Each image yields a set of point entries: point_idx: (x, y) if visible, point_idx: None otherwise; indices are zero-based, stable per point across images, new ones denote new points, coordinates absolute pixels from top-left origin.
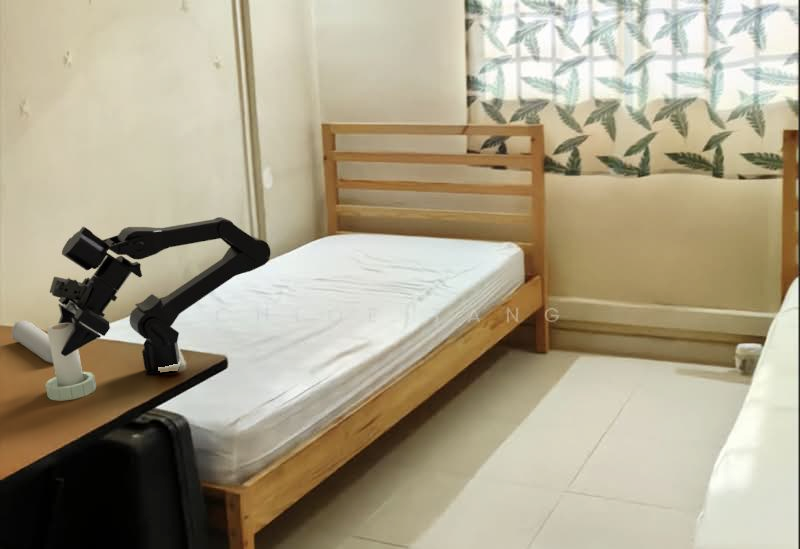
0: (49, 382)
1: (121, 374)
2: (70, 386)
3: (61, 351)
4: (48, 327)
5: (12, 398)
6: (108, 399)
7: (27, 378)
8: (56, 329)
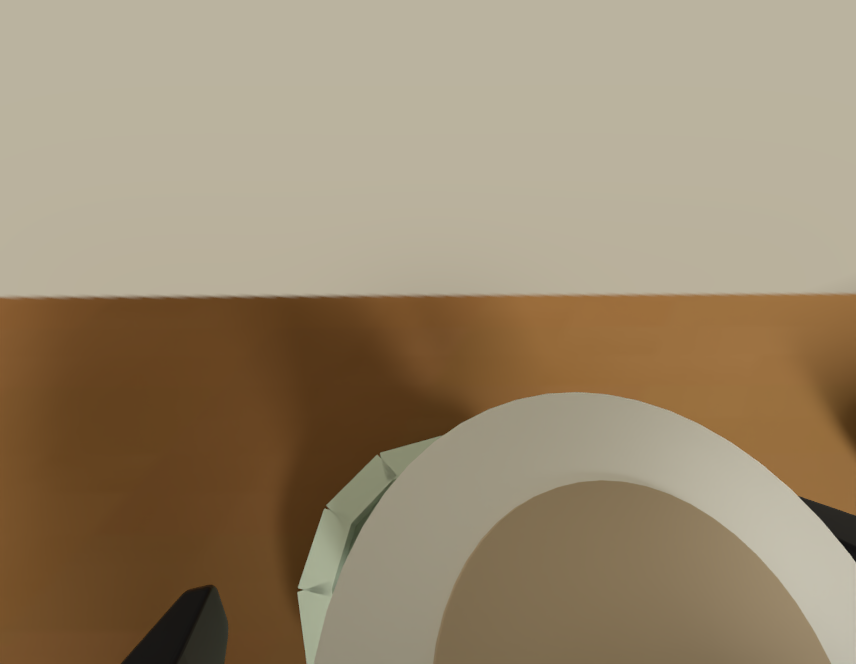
0: None
1: None
2: (315, 589)
3: (193, 599)
4: (673, 419)
5: (492, 314)
6: None
7: (720, 366)
8: (443, 593)
